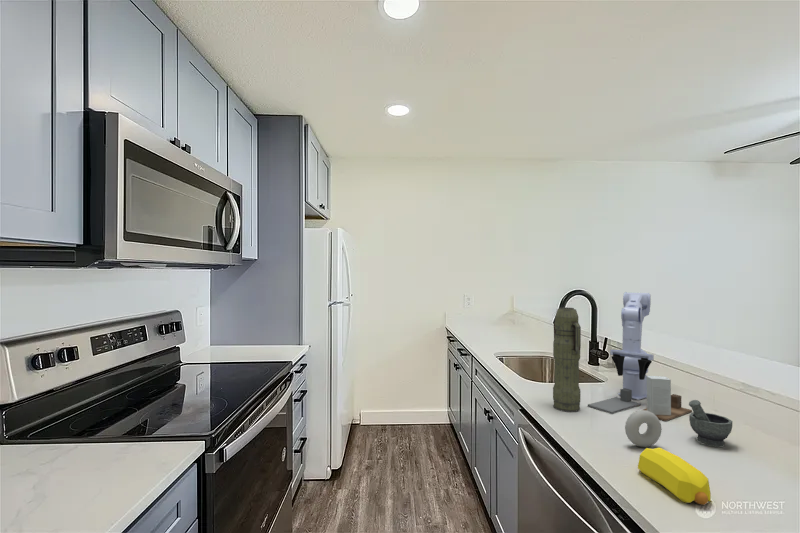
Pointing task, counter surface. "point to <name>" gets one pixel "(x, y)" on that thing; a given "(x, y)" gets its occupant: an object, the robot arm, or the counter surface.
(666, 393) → the skincare box
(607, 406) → the charcoal strip
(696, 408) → the mortar and pestle
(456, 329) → the counter surface
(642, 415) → the donut
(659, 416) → the walnut strip
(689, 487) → the yellow banana
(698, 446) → the counter surface
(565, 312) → the thermos
